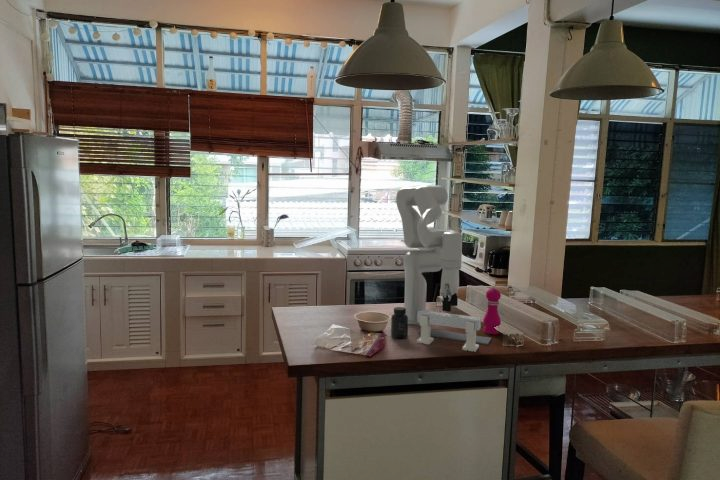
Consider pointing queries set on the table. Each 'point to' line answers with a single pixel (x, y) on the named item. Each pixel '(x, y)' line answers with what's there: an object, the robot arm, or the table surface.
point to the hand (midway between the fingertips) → (449, 308)
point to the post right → (470, 338)
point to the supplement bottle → (399, 324)
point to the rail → (449, 319)
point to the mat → (457, 336)
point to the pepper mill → (492, 311)
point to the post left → (425, 331)
